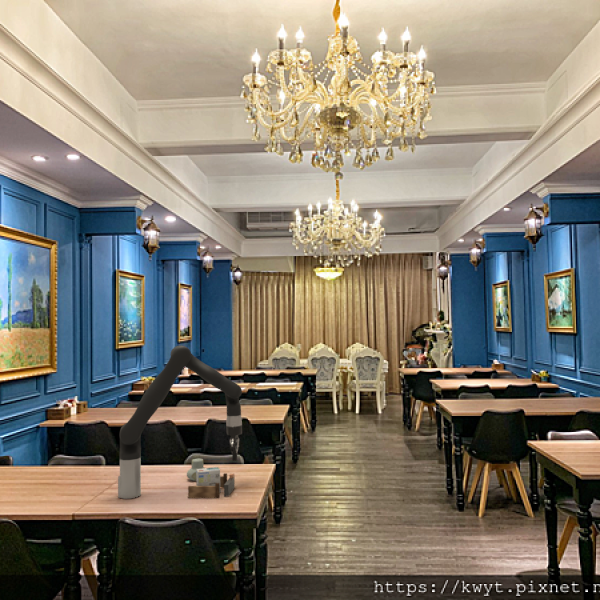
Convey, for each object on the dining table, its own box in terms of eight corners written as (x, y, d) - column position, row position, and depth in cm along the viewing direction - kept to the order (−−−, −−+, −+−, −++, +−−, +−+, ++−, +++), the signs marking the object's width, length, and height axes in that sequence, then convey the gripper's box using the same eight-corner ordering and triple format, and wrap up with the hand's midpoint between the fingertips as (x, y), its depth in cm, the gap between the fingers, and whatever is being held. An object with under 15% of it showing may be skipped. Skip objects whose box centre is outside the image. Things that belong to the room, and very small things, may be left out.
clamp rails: (188, 498, 244) (188, 483, 244) (198, 486, 262) (198, 473, 262) (218, 498, 243) (218, 483, 243) (227, 486, 261) (227, 473, 261)
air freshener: (207, 476, 280) (207, 457, 281) (209, 480, 273) (209, 460, 273) (185, 478, 277) (185, 459, 278) (187, 482, 269) (187, 462, 270)
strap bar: (224, 496, 245) (224, 481, 245) (230, 487, 258) (230, 473, 259) (228, 496, 244) (228, 481, 245) (234, 487, 258) (234, 473, 259)
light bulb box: (218, 489, 257) (218, 466, 258) (221, 493, 251) (220, 469, 251) (195, 491, 254) (195, 468, 254) (197, 495, 247) (197, 471, 248)
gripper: (229, 422, 273) (230, 457, 272) (223, 427, 260) (224, 463, 259) (244, 422, 272) (244, 457, 271) (239, 426, 259) (240, 463, 258)
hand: (234, 460), depth 265 cm, fingers closed
